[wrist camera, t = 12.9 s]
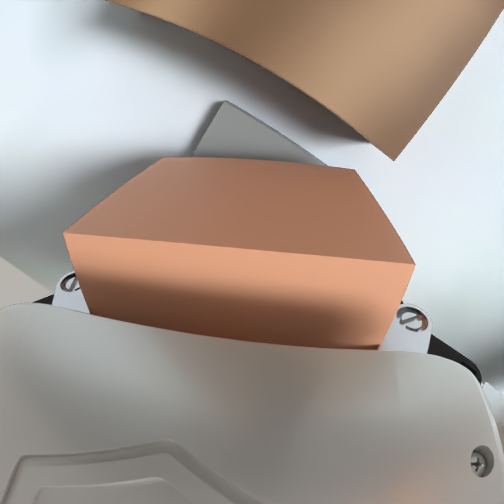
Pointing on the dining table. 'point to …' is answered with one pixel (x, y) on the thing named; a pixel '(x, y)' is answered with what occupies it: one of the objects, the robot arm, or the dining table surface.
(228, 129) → the coaster
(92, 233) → the peach cube
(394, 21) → the post base
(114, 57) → the dining table surface
